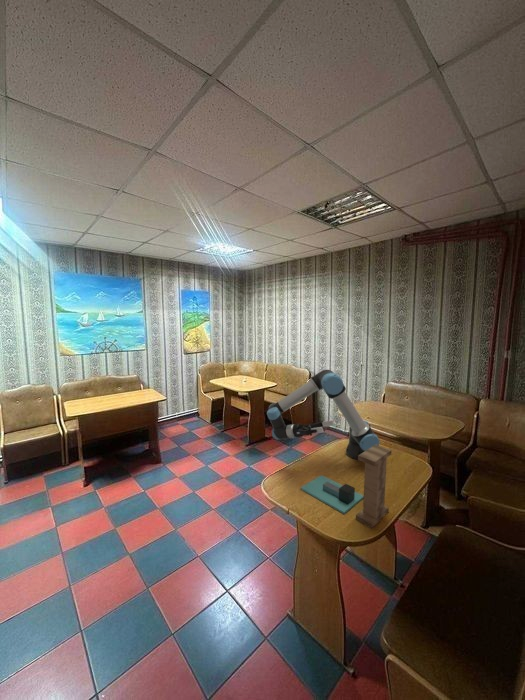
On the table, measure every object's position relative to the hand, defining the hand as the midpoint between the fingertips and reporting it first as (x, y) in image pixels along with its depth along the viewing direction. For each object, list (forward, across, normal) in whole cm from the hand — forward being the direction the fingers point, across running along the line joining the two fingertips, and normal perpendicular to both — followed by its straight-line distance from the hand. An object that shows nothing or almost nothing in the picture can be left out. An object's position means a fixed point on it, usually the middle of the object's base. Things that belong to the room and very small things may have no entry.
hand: (328, 426), depth 154 cm
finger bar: (-1, +9, -32) cm, 34 cm away
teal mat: (-5, +8, -32) cm, 33 cm away
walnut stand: (+16, +12, -40) cm, 44 cm away
